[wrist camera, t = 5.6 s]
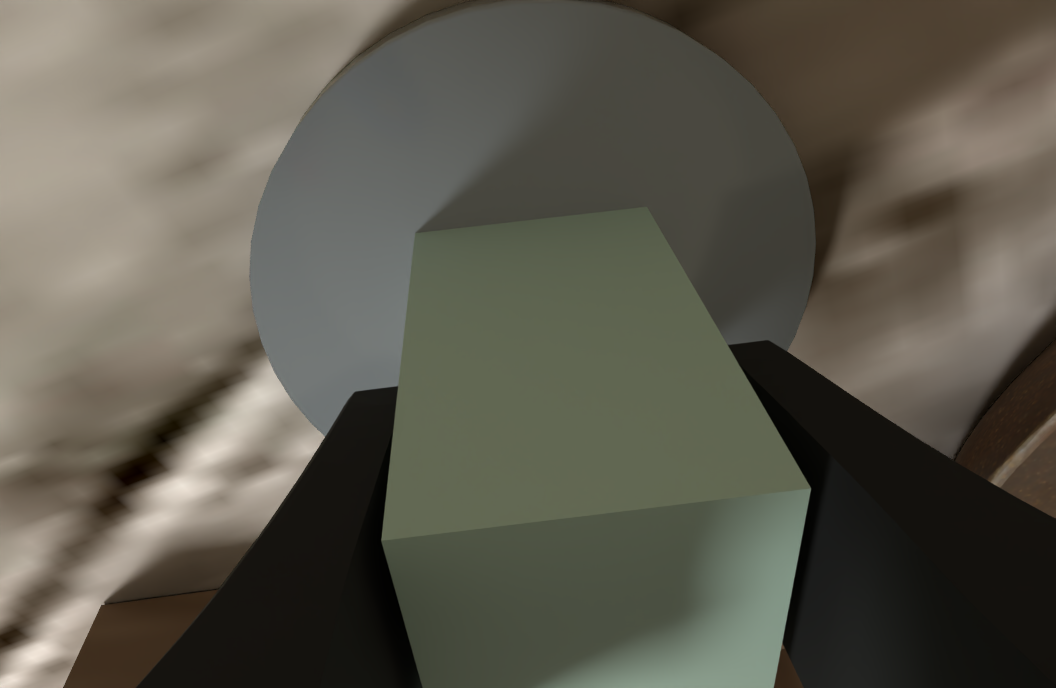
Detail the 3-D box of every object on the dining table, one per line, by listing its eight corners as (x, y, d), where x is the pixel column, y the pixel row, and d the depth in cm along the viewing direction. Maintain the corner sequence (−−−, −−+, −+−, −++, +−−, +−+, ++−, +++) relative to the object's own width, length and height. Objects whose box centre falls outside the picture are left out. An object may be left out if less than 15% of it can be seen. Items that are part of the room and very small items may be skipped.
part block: (644, 390, 13) (766, 722, 8) (447, 413, 13) (444, 764, 8) (646, 206, 11) (810, 487, 6) (415, 231, 11) (381, 540, 6)
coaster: (763, 441, 15) (782, 474, 14) (334, 496, 15) (328, 533, 14) (826, -40, 10) (860, -32, 9) (181, 28, 10) (157, 43, 9)
